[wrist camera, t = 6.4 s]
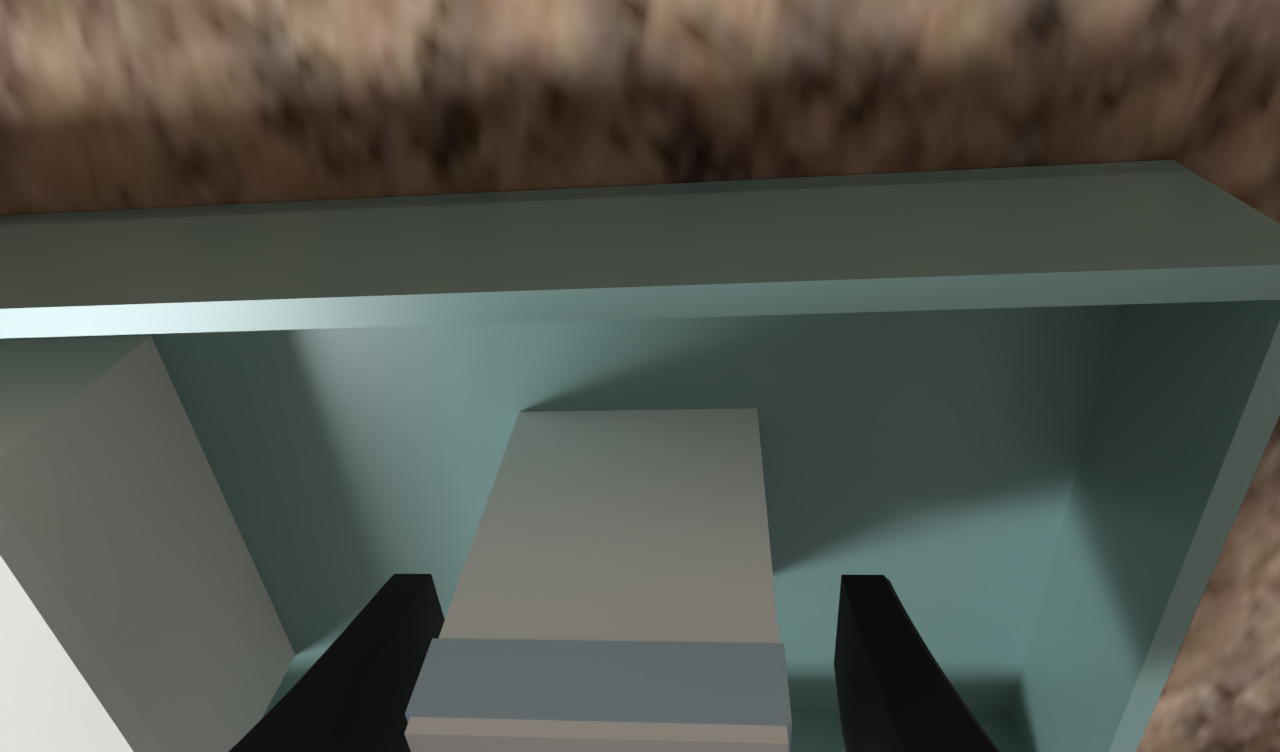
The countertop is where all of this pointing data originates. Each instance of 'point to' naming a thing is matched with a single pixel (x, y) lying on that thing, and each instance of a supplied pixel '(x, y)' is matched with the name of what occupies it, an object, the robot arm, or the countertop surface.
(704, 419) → the milk carton
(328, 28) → the countertop surface
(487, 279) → the tray
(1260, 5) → the countertop surface
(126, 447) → the white box
